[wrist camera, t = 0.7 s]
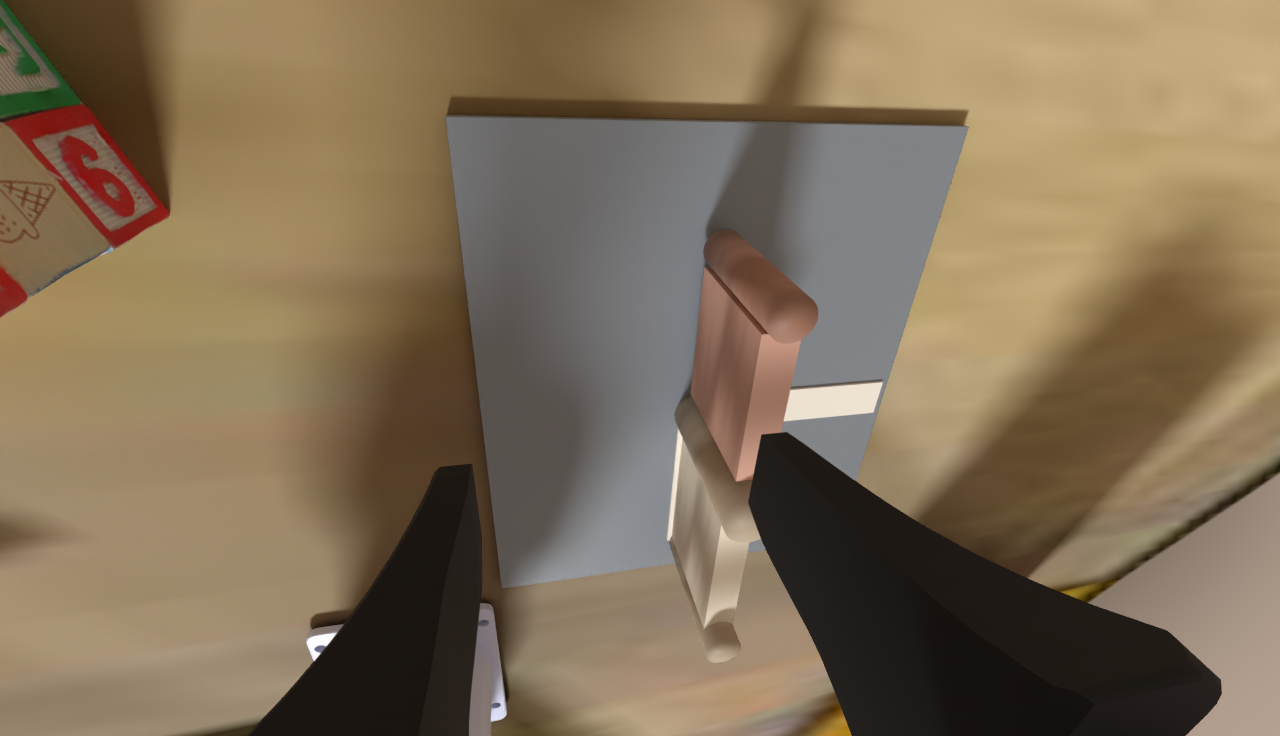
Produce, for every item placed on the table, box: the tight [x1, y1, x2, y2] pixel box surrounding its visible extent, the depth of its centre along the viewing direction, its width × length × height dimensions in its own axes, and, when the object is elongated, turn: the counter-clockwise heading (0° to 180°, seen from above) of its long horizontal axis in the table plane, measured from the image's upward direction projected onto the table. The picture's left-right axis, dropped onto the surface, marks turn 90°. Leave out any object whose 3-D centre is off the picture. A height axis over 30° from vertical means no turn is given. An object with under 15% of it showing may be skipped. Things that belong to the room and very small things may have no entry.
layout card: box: [446, 115, 969, 589], centre depth 23 cm, size 20×17×1 cm
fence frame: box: [669, 395, 761, 663], centre depth 23 cm, size 9×2×6 cm, turn 177°
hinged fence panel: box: [690, 229, 818, 481], centre depth 18 cm, size 6×1×5 cm, turn 177°
